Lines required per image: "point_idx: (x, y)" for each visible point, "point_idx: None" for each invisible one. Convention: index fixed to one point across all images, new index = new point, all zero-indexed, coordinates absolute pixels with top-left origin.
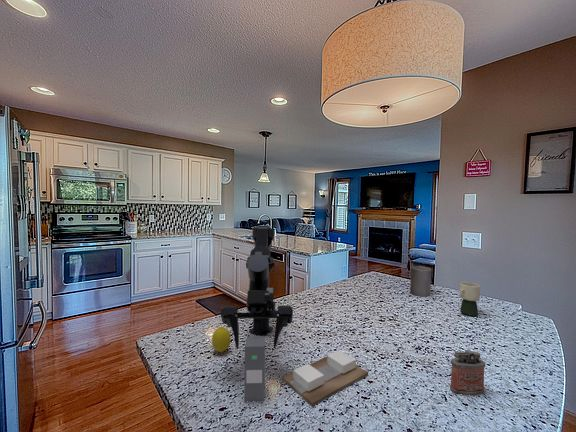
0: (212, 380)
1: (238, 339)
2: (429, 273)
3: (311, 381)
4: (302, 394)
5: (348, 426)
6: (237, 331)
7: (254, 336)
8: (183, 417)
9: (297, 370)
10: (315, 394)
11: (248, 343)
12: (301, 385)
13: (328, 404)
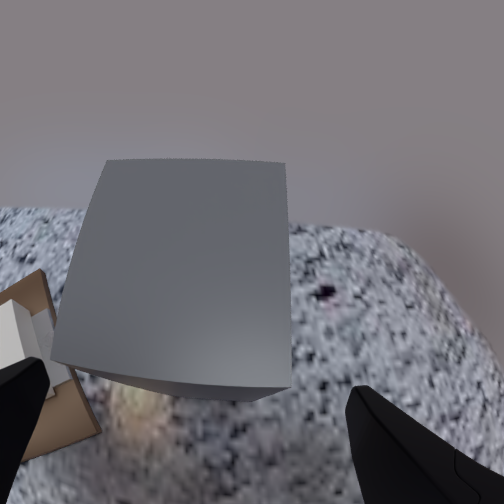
0: None
1: (374, 455)
2: None
3: (2, 304)
4: (49, 309)
5: (12, 209)
6: (429, 474)
7: (177, 373)
8: (419, 265)
9: None
10: (18, 303)
11: (252, 211)
12: (38, 345)
13: (9, 276)
